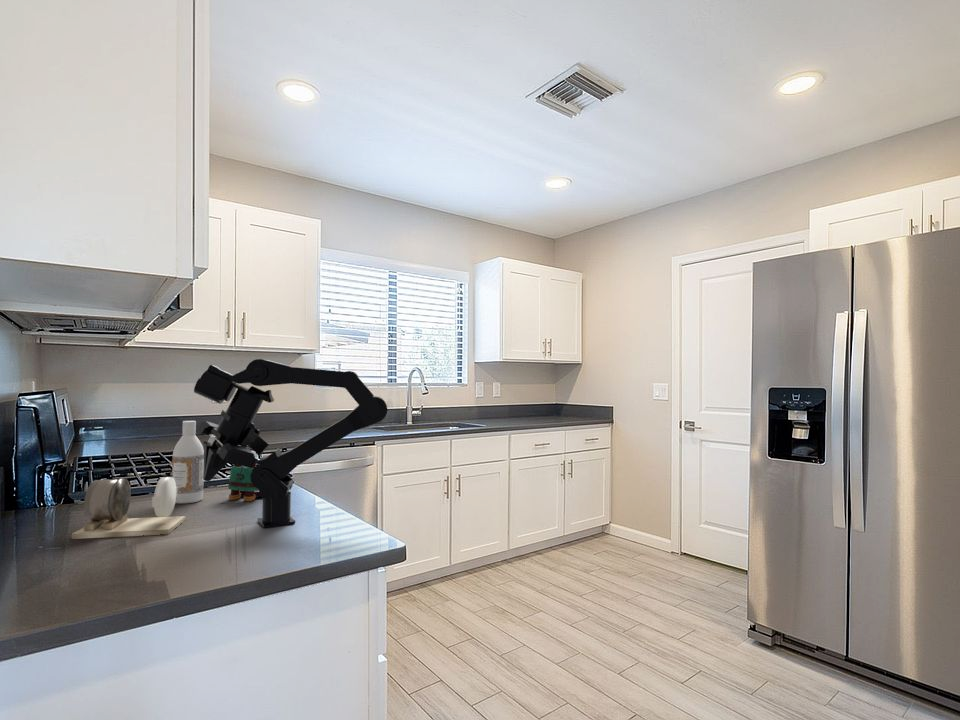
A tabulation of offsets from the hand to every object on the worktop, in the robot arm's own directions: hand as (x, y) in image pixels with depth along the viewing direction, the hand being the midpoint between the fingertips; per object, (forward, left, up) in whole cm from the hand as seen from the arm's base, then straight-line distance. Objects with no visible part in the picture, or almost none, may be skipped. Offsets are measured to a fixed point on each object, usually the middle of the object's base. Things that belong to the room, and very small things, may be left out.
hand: (206, 480), depth 112 cm
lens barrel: (+7, +17, -7) cm, 20 cm away
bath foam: (+27, +1, -10) cm, 28 cm away
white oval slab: (+3, +7, -7) cm, 10 cm away
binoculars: (+23, -13, -10) cm, 28 cm away
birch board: (+5, +13, -9) cm, 17 cm away
